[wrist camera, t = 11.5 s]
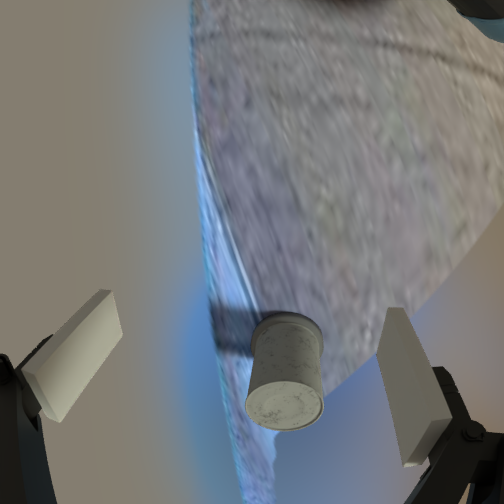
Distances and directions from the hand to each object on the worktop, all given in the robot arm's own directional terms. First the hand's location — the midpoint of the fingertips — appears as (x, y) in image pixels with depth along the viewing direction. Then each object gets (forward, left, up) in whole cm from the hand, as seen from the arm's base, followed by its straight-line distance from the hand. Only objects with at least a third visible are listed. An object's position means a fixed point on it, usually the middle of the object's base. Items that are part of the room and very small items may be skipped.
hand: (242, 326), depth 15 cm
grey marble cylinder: (+5, +22, -27) cm, 35 cm away
